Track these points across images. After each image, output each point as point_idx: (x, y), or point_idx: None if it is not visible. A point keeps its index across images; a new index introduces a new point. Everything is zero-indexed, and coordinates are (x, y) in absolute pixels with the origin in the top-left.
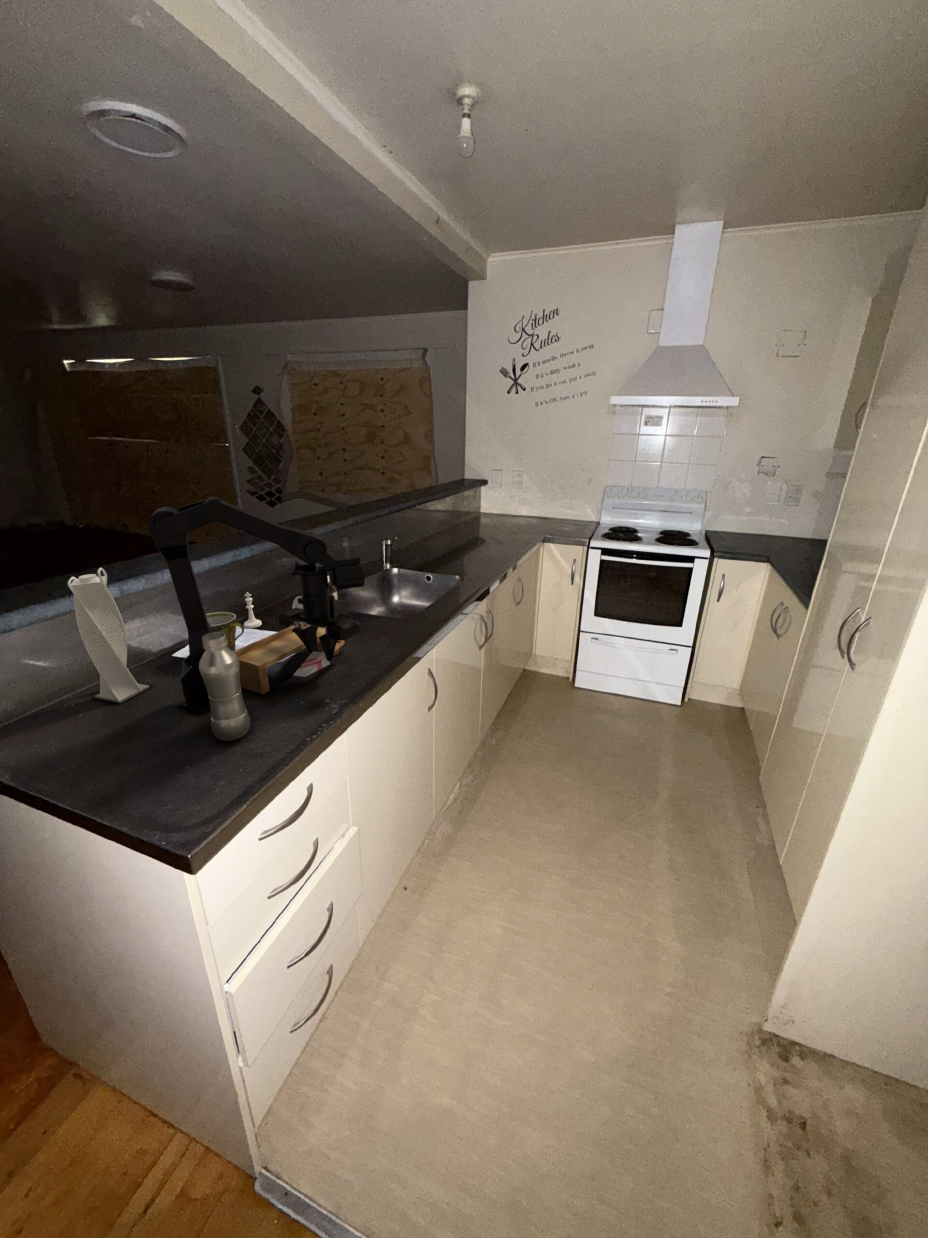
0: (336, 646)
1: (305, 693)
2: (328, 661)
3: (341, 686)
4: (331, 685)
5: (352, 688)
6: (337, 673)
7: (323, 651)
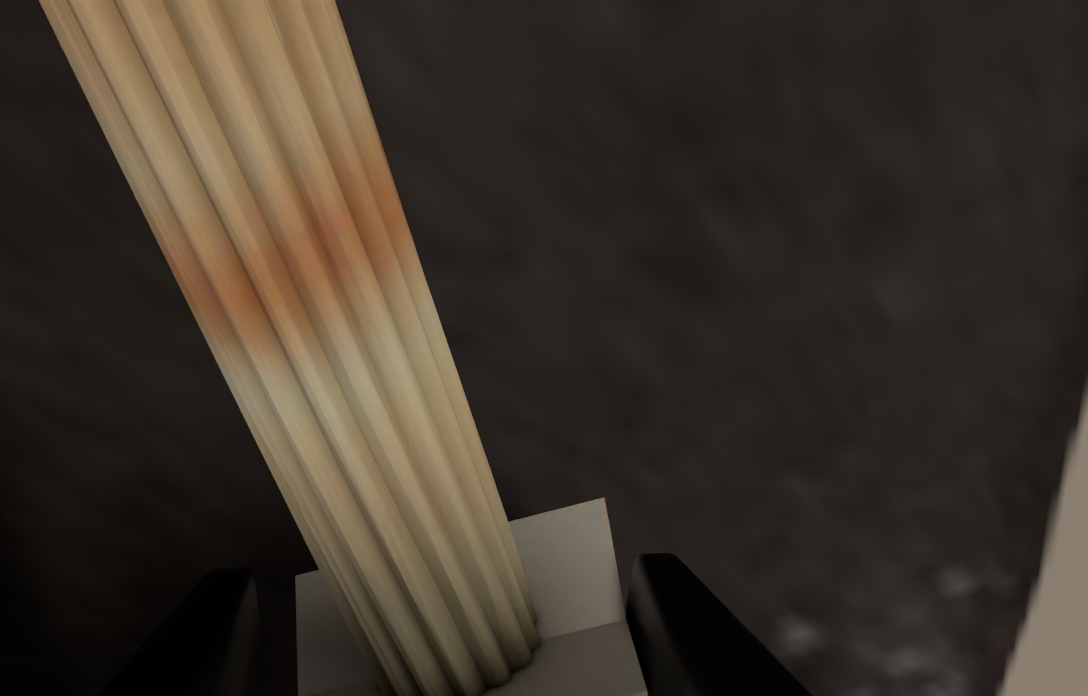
0: (299, 17)
1: None
2: (616, 576)
3: (791, 402)
4: (656, 436)
5: (947, 380)
6: (511, 146)
7: (325, 535)
